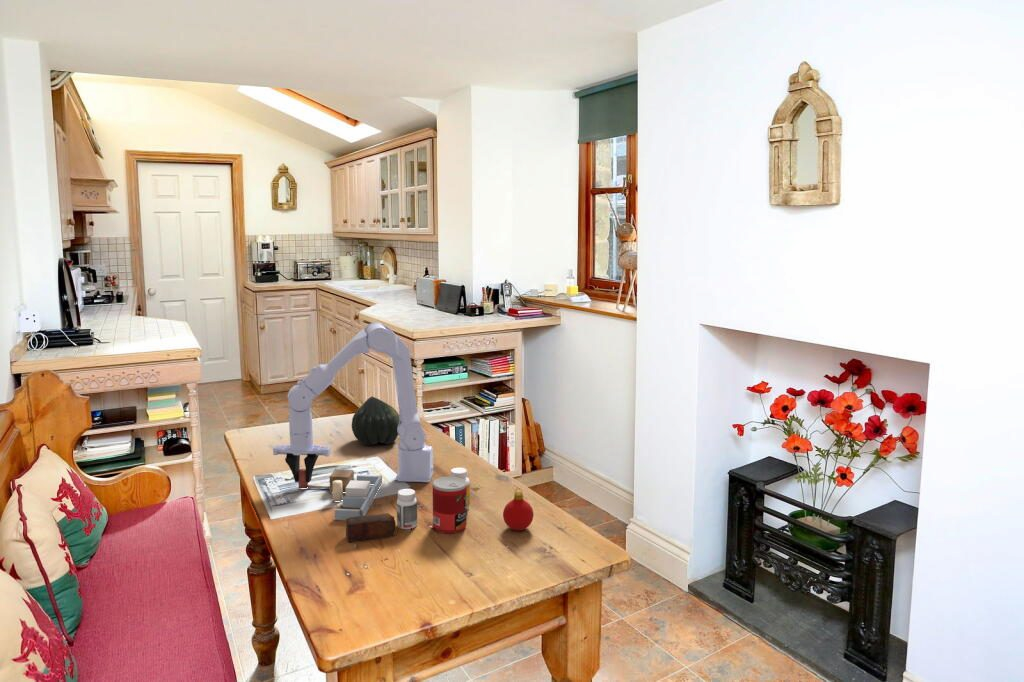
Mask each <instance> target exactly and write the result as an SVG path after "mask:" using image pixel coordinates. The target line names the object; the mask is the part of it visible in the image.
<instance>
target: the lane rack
mask: <svg viewBox="0 0 1024 682" xmlns="http://www.w3.org/2000/svg"><path fill="white" fill-rule="evenodd" d="M356 481H370V484H374V485H370V493H369V494H368V496H367V497H346V496H343V498H342V499H343V501H342V508H334V520H335V521H346V519H347V518H350V517H358V516H367V515H366V514H367V513H368V511H369V509H370V507H371V506H372V504H373V502H374V500H375V498H376V497H375V495H376V493H377V491H378V489H379V487H380V486H381V484H382V485H383V475H375V474H374V475H372V474H369V475H367V474H365V475H362V474H356ZM381 487H382V486H381ZM381 487H380V488H381ZM379 490H380V489H379ZM378 492H379V491H378ZM377 494H378V493H377ZM376 496H377V495H376ZM374 497H375V498H374ZM373 499H374V500H373ZM352 508H353V509H352ZM354 508H358V509H354Z"/></svg>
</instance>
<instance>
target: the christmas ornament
mask: <svg viewBox="0 0 1024 682" xmlns="http://www.w3.org/2000/svg"><path fill="white" fill-rule="evenodd" d="M517 490H521V488H520V487H519V488H516V489H515V492H514V494H513V495H514V498H513V499H512V500H510V501H508V503H507V504H506V505H505V506H504V509H503V512H502V519H503V522H504V523H505V525H506V526H507V527H508V528H510V529H512V530H514V531H523V530H525V529H527V528H528V527H529V526H530V525H531V524H532V522H533V520H534V509H533V507H532V505H531V504H530V503H529V502H527V500H525V499H524V497H523V496H524V494H523V491H520V492H519V491H518V492H517Z"/></svg>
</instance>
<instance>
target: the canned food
mask: <svg viewBox="0 0 1024 682" xmlns="http://www.w3.org/2000/svg"><path fill="white" fill-rule="evenodd" d="M466 483H467V482H466V481H465V480H464V479H462V478H459V477H451V476H442V477H438V478H435V479H434V480H433V481H432V526H433V528H434V530H435V531H437V530H438V531H437V532H439V531H440V532H439V533H442V532H444V533H443V534H456V533H455V532H457V533H460V532H463V531H464V530H465V529H466V526H467V520H468V519H467V513H468V512H467V510H468V509H467V484H466ZM463 529H464V530H463ZM459 531H460V532H459Z"/></svg>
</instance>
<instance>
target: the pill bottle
mask: <svg viewBox="0 0 1024 682" xmlns="http://www.w3.org/2000/svg"><path fill="white" fill-rule="evenodd" d="M417 526H418V499H417V498H416V491H415V490H414V489H412V488H403V489H399V490H398V491H397V500H396V527H398V528H399V529H402V530H411V528H412V529H414V528H416V527H417Z"/></svg>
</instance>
